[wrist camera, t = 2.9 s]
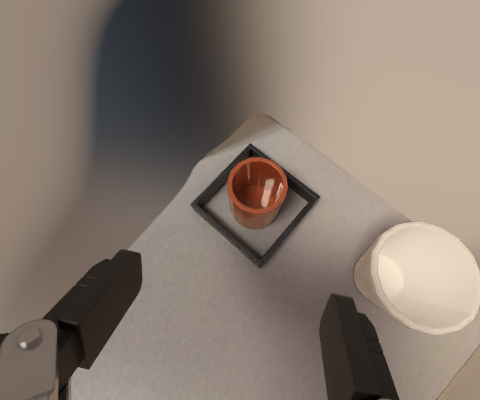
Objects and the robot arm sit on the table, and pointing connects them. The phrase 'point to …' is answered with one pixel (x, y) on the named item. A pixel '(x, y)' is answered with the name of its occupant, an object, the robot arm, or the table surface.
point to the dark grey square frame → (222, 179)
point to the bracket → (465, 381)
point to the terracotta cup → (256, 192)
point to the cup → (421, 278)
